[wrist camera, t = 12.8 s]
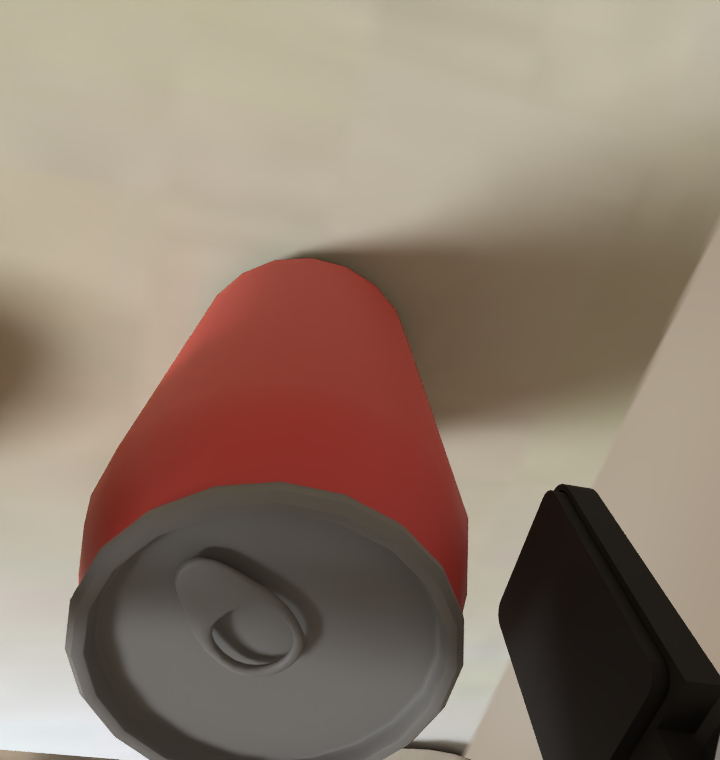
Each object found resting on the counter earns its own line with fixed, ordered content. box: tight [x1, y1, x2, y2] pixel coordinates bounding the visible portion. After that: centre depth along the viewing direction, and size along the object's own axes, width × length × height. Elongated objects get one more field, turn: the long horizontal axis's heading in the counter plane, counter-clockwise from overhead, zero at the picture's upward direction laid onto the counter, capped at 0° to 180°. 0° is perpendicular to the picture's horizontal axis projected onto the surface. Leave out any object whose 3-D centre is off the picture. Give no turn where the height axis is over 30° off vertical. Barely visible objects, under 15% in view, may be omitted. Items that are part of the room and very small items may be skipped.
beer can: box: [65, 258, 468, 760], centre depth 14 cm, size 7×7×12 cm
